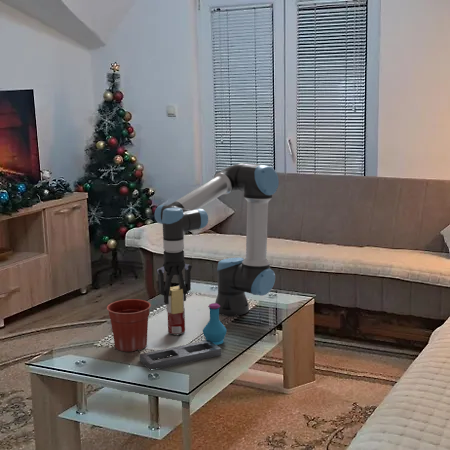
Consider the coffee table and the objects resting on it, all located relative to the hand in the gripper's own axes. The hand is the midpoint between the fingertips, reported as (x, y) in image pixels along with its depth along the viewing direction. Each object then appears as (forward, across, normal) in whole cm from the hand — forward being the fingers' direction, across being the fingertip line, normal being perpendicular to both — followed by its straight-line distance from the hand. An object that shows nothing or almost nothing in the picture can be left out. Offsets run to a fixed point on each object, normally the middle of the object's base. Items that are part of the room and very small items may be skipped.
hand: (175, 310), depth 263 cm
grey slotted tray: (+15, +2, +10) cm, 18 cm away
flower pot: (+15, +14, -10) cm, 23 cm away
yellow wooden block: (0, 0, 0) cm, 0 cm away
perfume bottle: (+15, -16, +2) cm, 22 cm away
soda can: (+15, -6, -14) cm, 22 cm away
